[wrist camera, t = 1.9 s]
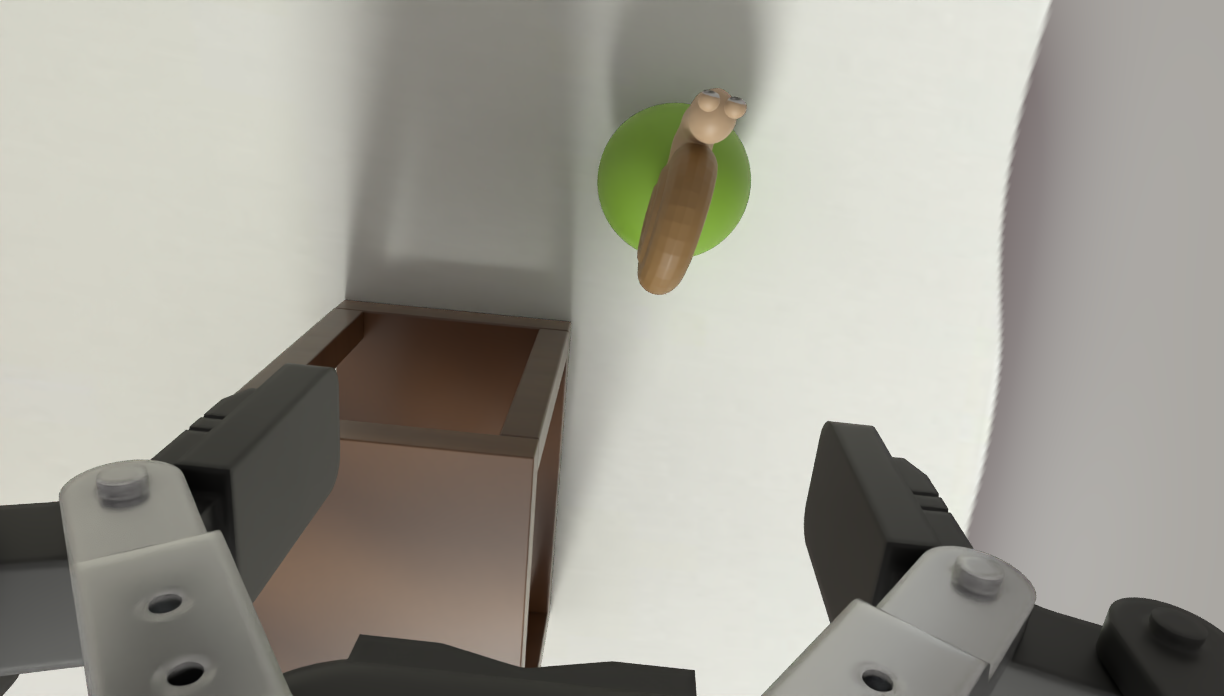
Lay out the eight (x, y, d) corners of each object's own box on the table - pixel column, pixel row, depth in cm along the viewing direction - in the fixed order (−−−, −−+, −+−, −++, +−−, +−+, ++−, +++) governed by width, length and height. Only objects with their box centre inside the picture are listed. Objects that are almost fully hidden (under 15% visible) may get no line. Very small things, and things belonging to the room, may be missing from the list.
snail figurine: (768, 91, 31) (836, 121, 20) (719, 254, 33) (754, 364, 22) (627, 54, 31) (614, 63, 20) (587, 221, 33) (555, 314, 22)
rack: (343, 298, 35) (158, 458, 22) (571, 321, 35) (524, 494, 21) (351, 597, 40) (206, 872, 27) (549, 617, 40) (500, 902, 27)
